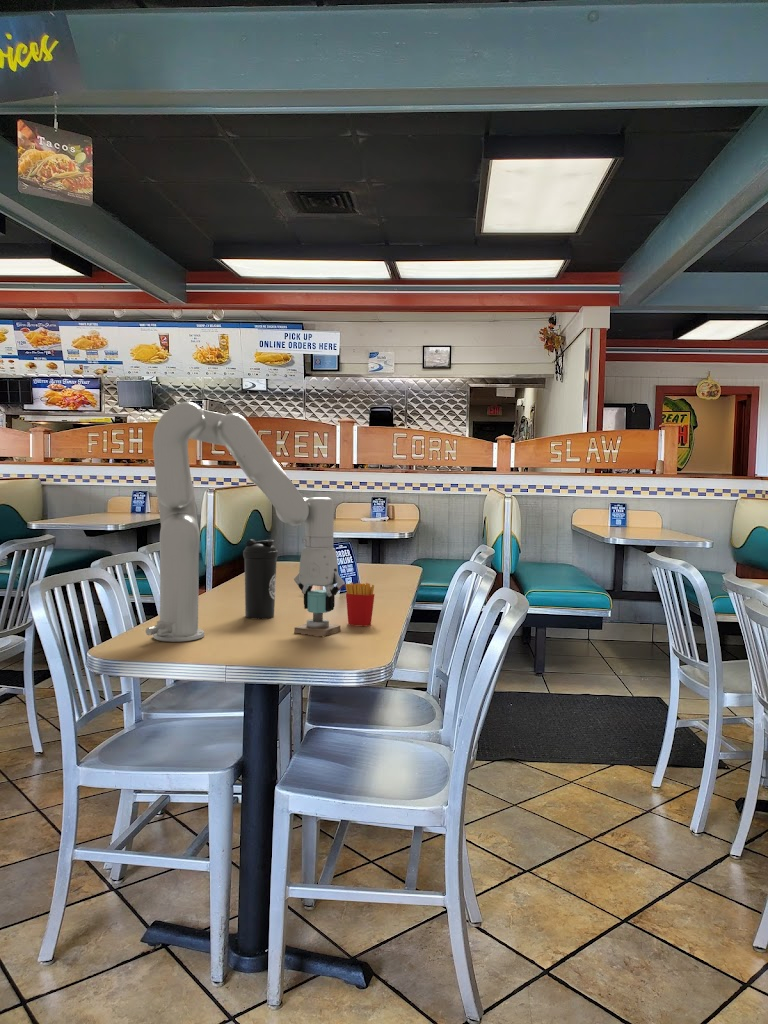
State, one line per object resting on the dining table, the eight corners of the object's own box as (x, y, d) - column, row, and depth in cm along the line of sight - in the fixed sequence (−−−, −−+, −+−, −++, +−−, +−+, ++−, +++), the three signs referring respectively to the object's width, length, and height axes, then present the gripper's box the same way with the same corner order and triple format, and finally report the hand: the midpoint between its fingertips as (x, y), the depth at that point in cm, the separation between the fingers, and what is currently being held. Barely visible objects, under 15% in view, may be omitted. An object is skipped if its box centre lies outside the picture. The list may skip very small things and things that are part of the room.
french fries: (374, 623, 205) (375, 582, 204) (372, 626, 201) (373, 584, 201) (345, 622, 206) (346, 581, 206) (342, 624, 202) (343, 583, 202)
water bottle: (273, 619, 207) (274, 541, 206) (239, 619, 208) (240, 540, 207) (279, 613, 217) (280, 538, 217) (246, 612, 218) (247, 538, 217)
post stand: (322, 637, 186) (323, 610, 186) (294, 633, 190) (294, 607, 190) (340, 631, 194) (340, 605, 194) (312, 627, 198) (313, 602, 198)
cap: (322, 613, 188) (322, 594, 188) (303, 611, 191) (303, 592, 190) (335, 609, 193) (334, 591, 193) (315, 608, 196) (315, 589, 196)
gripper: (284, 542, 192) (284, 608, 192) (339, 545, 184) (339, 614, 185) (300, 540, 198) (300, 604, 199) (354, 543, 190) (353, 610, 191)
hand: (318, 608), depth 192 cm, fingers closed on cap, 6 cm apart
